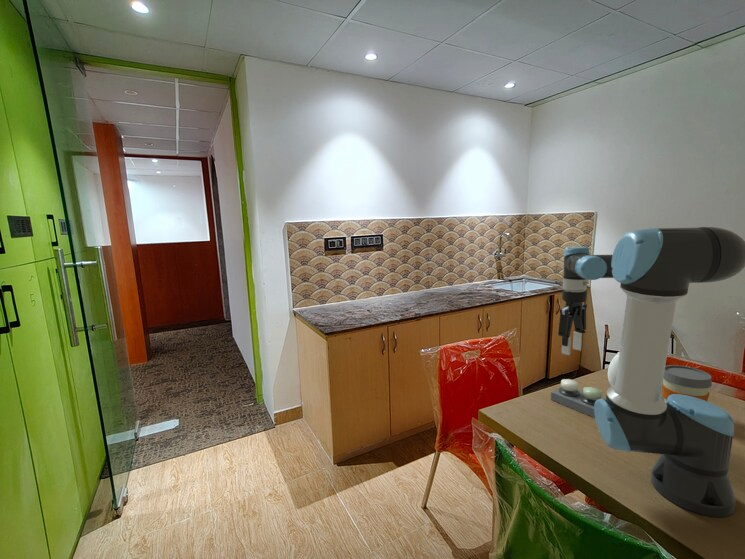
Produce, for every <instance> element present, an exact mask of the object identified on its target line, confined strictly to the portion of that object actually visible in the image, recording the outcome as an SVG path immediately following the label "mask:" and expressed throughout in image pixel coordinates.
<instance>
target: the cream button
mask: <svg viewBox="0 0 745 559" xmlns="http://www.w3.org/2000/svg"><path fill="white" fill-rule="evenodd" d="M561 387H562V388H563V389H565V390H568V391H577V390H579V382H578V381H576V380H574V379H570V378H568V379H567V378H566V379H565V378H563V379H561V381H560V388H561Z"/></svg>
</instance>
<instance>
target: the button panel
mask: <svg viewBox="0 0 745 559" xmlns="http://www.w3.org/2000/svg"><path fill="white" fill-rule="evenodd" d="M602 399H604V398H602ZM550 400H551V401H553V400H554V401H553V402H555V401H556V402H555V403H558V402H559V403H558V404H560V403H561V405H563V406H565V407H567V408H570V409H573V410H575V411H578V412H580V413H582V414H585V415H587V416H589V417H592V418H593V419H595V412H594V405H595V402H596V400H593V399H589V398H587V397H585V396H584V395H583V390H581V389H578V390H577V391H568V390H565V389H563V388H562V387H561V386H560V387H559V388H557V389H555V390H552V391H551V392H550Z"/></svg>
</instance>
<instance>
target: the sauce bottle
mask: <svg viewBox="0 0 745 559" xmlns="http://www.w3.org/2000/svg"><path fill="white" fill-rule="evenodd" d="M619 354H620V351H618V352H617V353H616V355H615V356H614V357H613V358H612V360H611V361H610V363H609V365H608V369H607V380H608V383H609V385H610V387H612V386H614V385H615V383H616V376H617V368H618V361H619Z"/></svg>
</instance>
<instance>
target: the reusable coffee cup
mask: <svg viewBox="0 0 745 559" xmlns="http://www.w3.org/2000/svg"><path fill="white" fill-rule="evenodd" d="M712 383H713V382H712V375H711V374H710V373H709V372H706V371H704V370H702V369H699V368H696V367H691V366H686V365H679V364H669V365H667V364H666V365H665V370H664V376H663V382H662V388H661V393H662V397H663V400H664V401H665V403H667V398H668V396H670V395H672V394H681V395H687V396H692V397H695V398H699V399H702V400H705V401H707V402H708V400H709V396H710V391H709V390H710V388H711V387H712Z"/></svg>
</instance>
